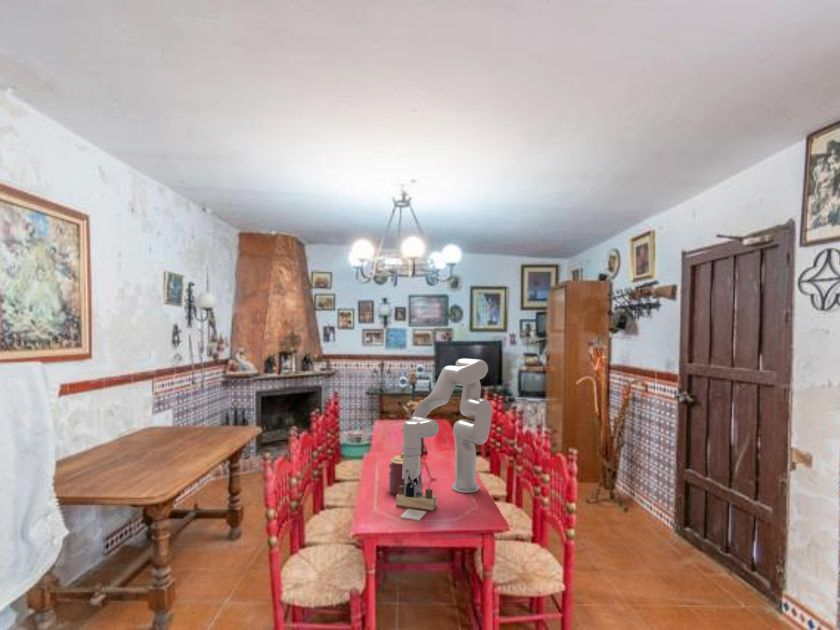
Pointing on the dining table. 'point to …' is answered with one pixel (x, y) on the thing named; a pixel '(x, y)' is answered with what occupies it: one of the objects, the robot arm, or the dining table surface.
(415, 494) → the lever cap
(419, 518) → the felt pad
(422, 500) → the plane body
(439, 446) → the dining table surface
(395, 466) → the canister
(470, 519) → the dining table surface
